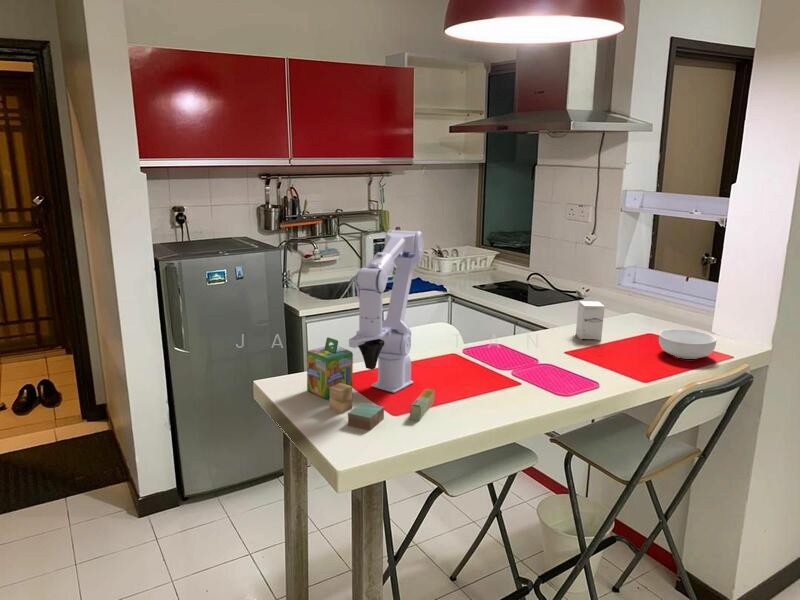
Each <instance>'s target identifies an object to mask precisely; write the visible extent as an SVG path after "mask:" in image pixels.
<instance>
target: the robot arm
mask: <svg viewBox="0 0 800 600" xmlns="http://www.w3.org/2000/svg"><path fill="white" fill-rule="evenodd" d="M424 239H425V238H424V234H423V233H422V231H420V230H417V231H415V230H414V231H412V230H397V229H394V230H393V229H391V228H390V229H388V230H387V232H386V234H385V236H384V248H383V249H382V251H381V252H380V251H378V252H376V254H375V255H374V256H373V257H372V259H371V260H370V262H368V264H367V265H366V266H365V267H362V268H360V269H358V270H357V272H356V274H355V280H354V286H355V289H356V297H357V298H358V299H359V300H358V301H359V302H358V304H359V306H358V308H359V309H358V310H359V320H358V321H359V322H358V324H359V326H358V327H359V328H358V329H359V330H357V331H356V334H355V335H354V336H353V337H351V338H349V339H348V347H349V348H353V349H357V348H358V349H359V351H360V353H361V356H362V357H363V362H364V365H365V369H368V370H372V371H373V370H374V369H376V366H377V369H378V370H377V371H378V373H377V374H378V375H377V381H376V382H374V383H371V387H373V388H375V389H380V390H381V391H382V390H383V391H386V392H389V393H394V394H395V393H397V392H399V391H401V390H402V389H405V388H407V387H408V386H411V385H412V384H414V381H413V380H412V360H411V357H410V355H409V353H410V351H411V346H412V330H411V329H410V327H409V326H408V325H407V324H406V323H405V322H404V321H405V316H406V312H407V311H406V310H407V305H408V300H409V294H410V289H411V284H412V279H413V274H414V270H415V266H417V265H418V264H421V260H422V257H423V251H424V247H425V246H424V245H425V243H424ZM395 266H396V268H395V273H394V277H393V278H394V279H393V282H392V283H393V285H392V287H391V293H390V298H389V299H390V300H389V304H388V309H387V314H386V318H385V319H383V299H384V298H383V293H384V291H385V290H386V287H387V283H388V279H389V277H388V276H390V274H391V272H392V271H393V269H394V267H395ZM377 364H378V365H377Z"/></svg>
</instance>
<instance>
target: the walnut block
mask: <svg viewBox="0 0 800 600" xmlns="http://www.w3.org/2000/svg"><path fill="white" fill-rule="evenodd" d="M384 413H385V408H384V406H381V405H376V404H371V403H366V402H364V401H363V402H360V404H358V405H356V406H355V407H354V408H352V409H350V410H349V412H348V413H347V425H348V427H353V428H357V429H362V430H366V431H370V432H371V431H372V430H373V429H375V427H376V426H378V425H379V424H380V423H381V422H382V421H383V420H385V419H384V418H385V414H384Z"/></svg>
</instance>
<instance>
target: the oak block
mask: <svg viewBox="0 0 800 600" xmlns="http://www.w3.org/2000/svg"><path fill="white" fill-rule="evenodd" d="M352 390H353V385H352V386H349V385H346V384H342V383H339V384H336V385H334V386H332V387H330V399H329V410H330V411H333V412H336V413H339V414H344V413H346V412H348V411H351V410H353V391H352Z"/></svg>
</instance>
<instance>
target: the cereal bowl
mask: <svg viewBox="0 0 800 600" xmlns="http://www.w3.org/2000/svg"><path fill="white" fill-rule="evenodd" d="M658 344H659V345H660V348H661V349H662V350H663V351H664V352H666V353H667V354H669V355H671V356H672V355H674V356H676V357H679V358H685V359H696V358H699V359H700V358H705V357H708V356H710V355H711V354H712V353H713V351H714V350H715V348H716V346H717V338H716V336H714V335H712V334H709V333H706V332H704V331H700V330H694V329H693V330H692V329H684V328H667V329H664V330H661V331H660V332H659V333H658ZM674 356H673V357H674ZM676 357H675V358H676Z"/></svg>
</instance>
